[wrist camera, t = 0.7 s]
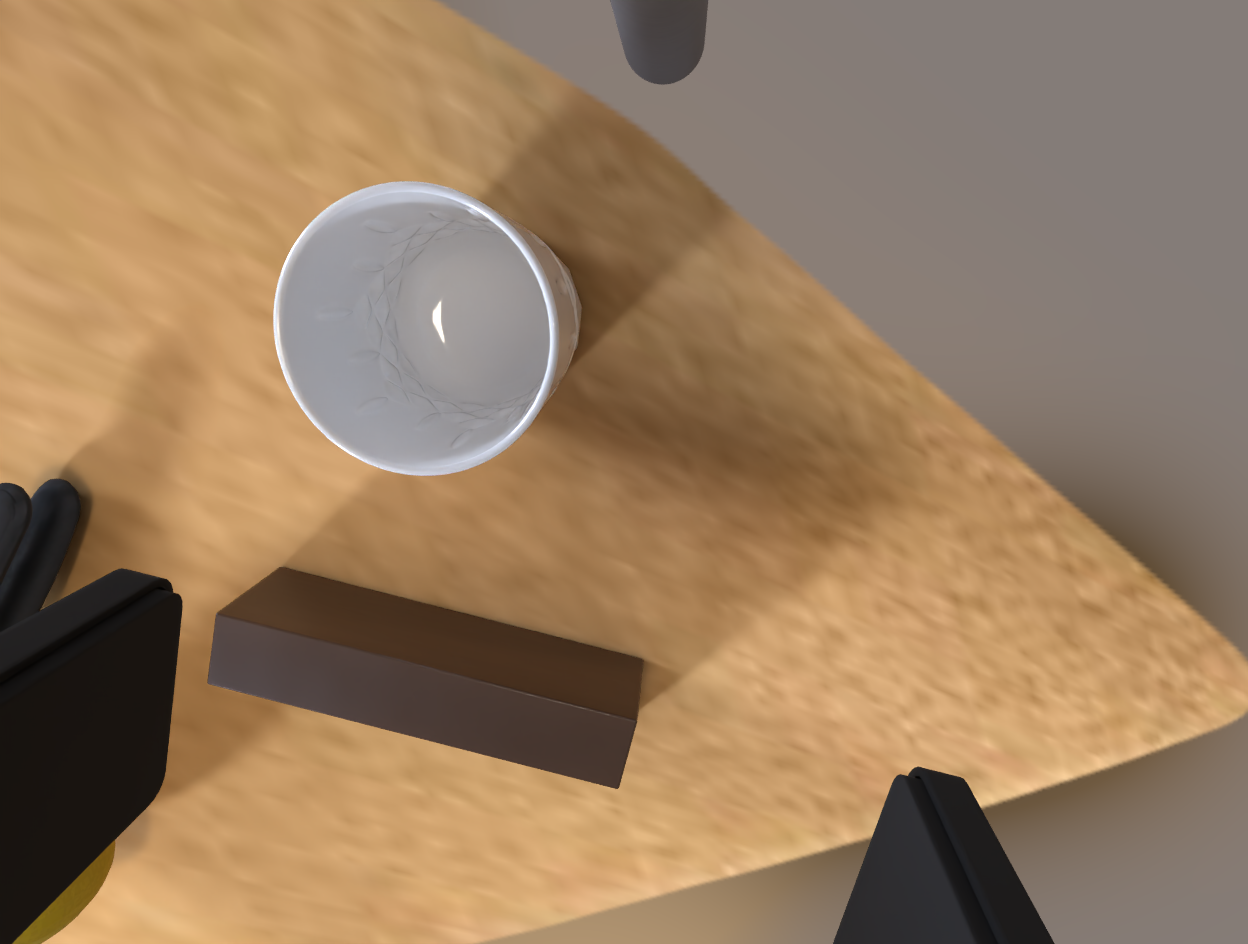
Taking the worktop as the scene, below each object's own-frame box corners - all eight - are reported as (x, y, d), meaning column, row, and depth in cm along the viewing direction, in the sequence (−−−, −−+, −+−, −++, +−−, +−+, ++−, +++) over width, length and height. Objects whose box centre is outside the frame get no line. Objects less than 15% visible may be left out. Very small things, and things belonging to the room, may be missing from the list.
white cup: (626, 252, 31) (599, 243, 21) (559, 444, 33) (507, 515, 23) (429, 179, 31) (312, 136, 21) (373, 376, 33) (243, 419, 23)
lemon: (16, 801, 39) (-151, 932, 31) (90, 736, 38) (-64, 856, 30) (101, 881, 40) (-42, 1029, 32) (176, 821, 39) (47, 959, 31)
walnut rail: (280, 566, 35) (215, 612, 30) (644, 658, 35) (637, 720, 30) (271, 628, 36) (206, 684, 31) (627, 719, 36) (618, 790, 31)
